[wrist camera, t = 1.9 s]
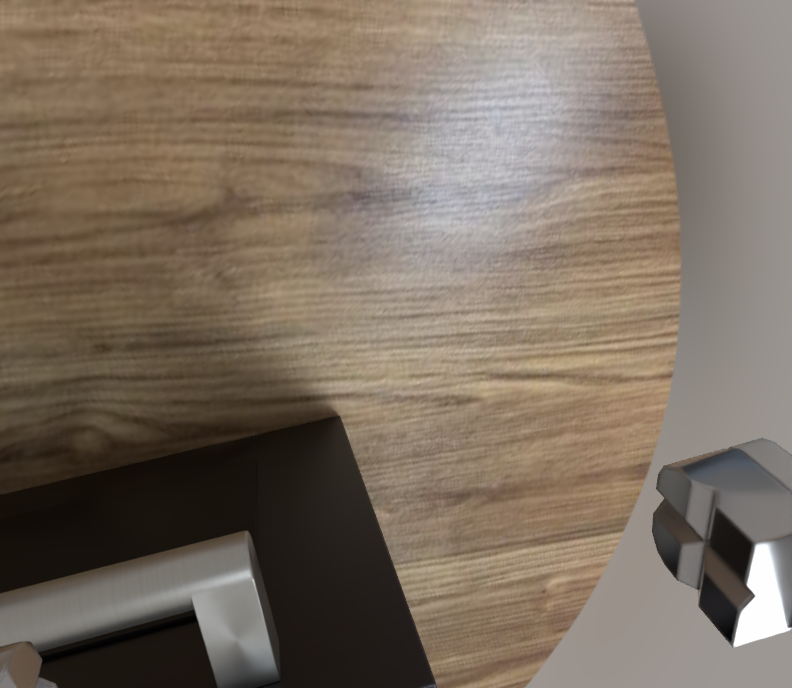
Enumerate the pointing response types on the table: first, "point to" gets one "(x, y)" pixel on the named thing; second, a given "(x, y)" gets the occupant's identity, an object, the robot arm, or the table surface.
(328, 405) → the table surface
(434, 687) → the oven door
